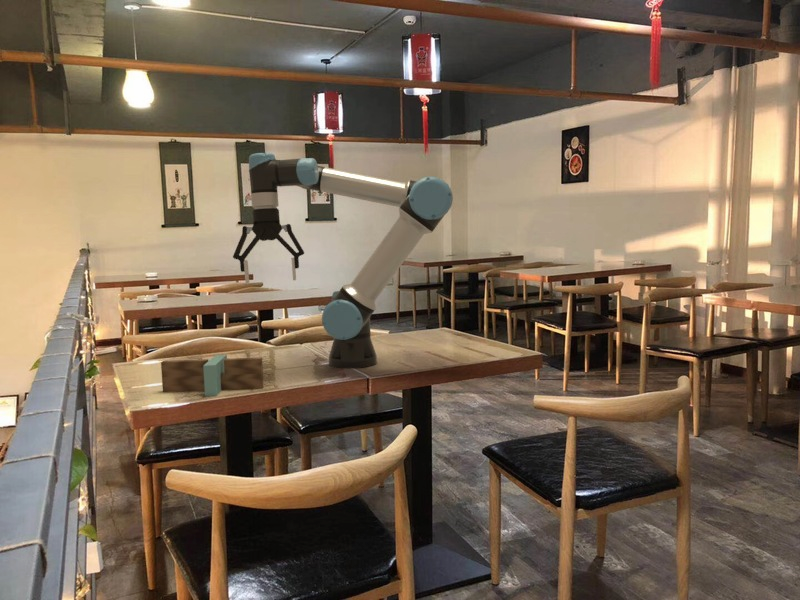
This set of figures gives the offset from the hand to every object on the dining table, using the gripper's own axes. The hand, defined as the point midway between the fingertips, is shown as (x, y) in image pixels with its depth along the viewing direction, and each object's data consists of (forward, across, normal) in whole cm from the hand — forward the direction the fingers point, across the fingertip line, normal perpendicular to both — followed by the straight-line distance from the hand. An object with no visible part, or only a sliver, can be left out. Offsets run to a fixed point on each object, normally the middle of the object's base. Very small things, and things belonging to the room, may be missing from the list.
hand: (271, 281), depth 182 cm
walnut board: (+27, +16, +17) cm, 35 cm away
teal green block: (+27, +15, +17) cm, 35 cm away
